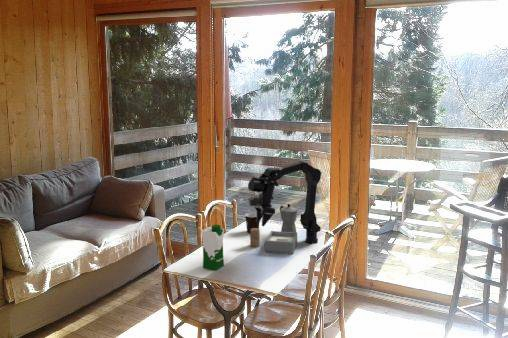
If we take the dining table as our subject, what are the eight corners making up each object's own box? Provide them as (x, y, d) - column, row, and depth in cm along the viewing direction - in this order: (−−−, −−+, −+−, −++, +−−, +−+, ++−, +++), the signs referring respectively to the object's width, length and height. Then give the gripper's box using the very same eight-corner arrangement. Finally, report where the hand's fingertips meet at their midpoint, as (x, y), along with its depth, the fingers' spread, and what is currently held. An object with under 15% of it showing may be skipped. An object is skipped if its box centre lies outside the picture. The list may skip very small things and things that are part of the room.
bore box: (271, 241, 254) (271, 231, 252) (297, 243, 251) (297, 232, 250) (265, 252, 238) (265, 240, 237) (293, 254, 235) (293, 242, 234)
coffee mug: (246, 229, 275) (246, 212, 273) (261, 229, 274) (261, 213, 272) (243, 235, 264) (243, 218, 262) (258, 236, 263) (258, 218, 261)
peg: (252, 244, 250) (251, 228, 248) (259, 245, 249) (259, 228, 247) (250, 247, 246) (250, 230, 244) (258, 247, 245) (257, 230, 243)
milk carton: (215, 272, 214) (214, 229, 211) (199, 268, 219) (198, 226, 215) (226, 265, 222) (225, 224, 218) (211, 261, 226) (209, 221, 223)
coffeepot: (302, 237, 260) (302, 205, 257) (288, 240, 256) (288, 207, 252) (287, 229, 273) (287, 199, 270) (273, 232, 269) (273, 201, 266)
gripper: (247, 187, 242) (240, 217, 243) (256, 193, 224) (249, 225, 225) (267, 191, 245) (261, 221, 246) (278, 197, 227) (271, 229, 228)
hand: (260, 224), depth 236 cm, fingers open, 9 cm apart
